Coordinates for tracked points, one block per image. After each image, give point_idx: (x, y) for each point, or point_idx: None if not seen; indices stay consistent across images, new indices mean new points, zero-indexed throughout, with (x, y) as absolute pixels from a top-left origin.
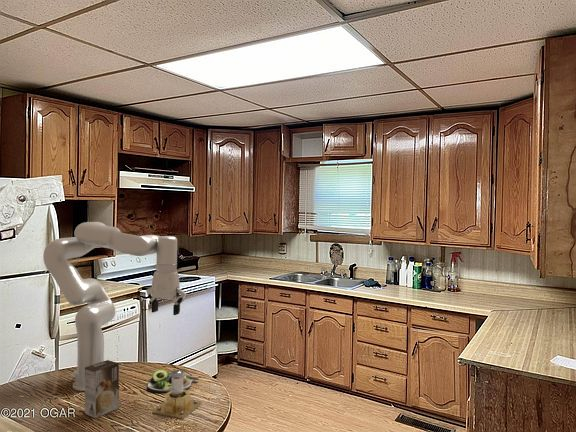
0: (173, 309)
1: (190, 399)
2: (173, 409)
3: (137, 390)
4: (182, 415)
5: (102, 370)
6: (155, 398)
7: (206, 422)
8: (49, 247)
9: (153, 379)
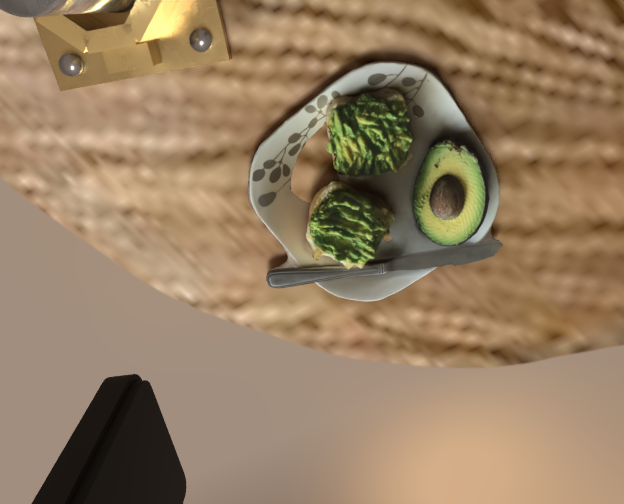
0: (97, 462)
1: (121, 78)
2: None
3: (478, 36)
4: None
5: None
6: (313, 10)
7: None
8: None
9: (453, 144)
